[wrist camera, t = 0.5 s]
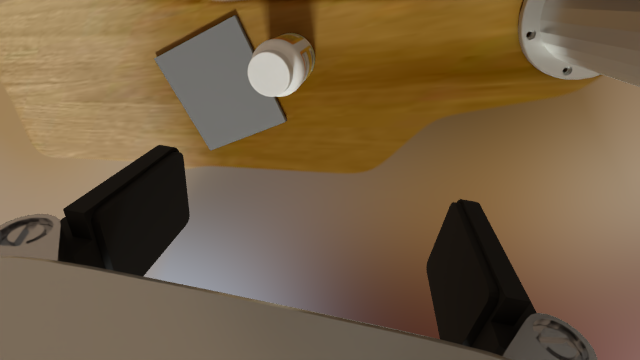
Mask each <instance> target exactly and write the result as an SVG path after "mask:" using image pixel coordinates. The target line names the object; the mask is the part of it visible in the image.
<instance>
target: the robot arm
mask: <svg viewBox="0 0 640 360" xmlns="http://www.w3.org/2000/svg"><path fill="white" fill-rule="evenodd" d="M528 32H530V35H529V36H528V37H526V34H527V33H528ZM518 33H519V42H520V45H521V48H522V51H523V53H524V55H525V56H526V58H527V59H528V61H529V62H530V63H531V64H532V65H533V66H534V67H535V68H537V69H538V70H540V71H542V72H544V73H545V74H548V75H551V76H553V77H557V78H561V79H584V78H590V77H594V76H598V75H601V74H602V75H605V76H609V77H612V78H615V79H618V80H621V81H624V82H627V83H630V84H633V85H636V86H639V87H640V0H524V2H523V5H522V8H521V12H520V15H519V24H518ZM564 68H565V70H564V71H563V69H564ZM562 71H563V72H562ZM64 213H65V216H66V217H64V218H63V219H62V220H59V219H58V218H57V217H55V216H52V215H48V214H35V215H28V216H24V217H20V218H17V219H14V220H11V221H8V222H6V223H4V224H2V225H1V226H0V360H597V357H596V354H595V352H594V349H593V348H592V347H591V345H590V344H589V342H588V341H587V340H586V339H585V338H584V337H583V336H582V335H581V334H580V333H579V332H578V331H577V330H576V329H574V328H573V327H572V326H570V325H569V324H568V323H566V322H564V321H562V320H560V319H558V318H556V317H553V316H551V315H548V314H541V313H536V311H535V309H534V307H533V305H532V303H531V301H530V299H529V297H528V295H527V294H526V292H525V290H524V288H523V286H522V285H521V282H520V280H519V278H518V277H517V275H516V273H515V271H514V269H513V267H512V265H511V263H510V261H509V259H508V257H507V256H506V254H505V252H504V250H503V248H502V246H501V244H500V242H499V240H498V238H497V236H496V234H495V233H494V231H493V229H492V227H491V225H490V223H489V221H488V219H487V217H486V215H485V213H484V212H483V210H482V208H481V206H480V204H479V203H477V202H473V201H467V200H462V199H460V200H458V201H457V203H454V202H453V203H452V204H451V206H450V207H449V210H448V212H447V215H446V217H445V220H444V222H443V225H442V227H441V230H440V232H439V234H438V237H437V239H436V242H435V244H434V247H433V249H432V252H431V254H430V257H429V259H428V262H427V275H428V280H429V285H430V291H431V296H432V301H433V305H434V311H435V316H436V321H437V326H438V331H439V336H440V339H436V338H431V337H427V336H421V335H417V334H413V333H409V332H405V331H400V330H396V329H391V328H386V327H382V326H377V325H372V324H368V323H363V322H358V321H354V320H349V319H344V318H340V317H335V316H330V315H325V314H321V313H317V312H311V311H307V310H302V309H297V308H293V307H288V306H283V305H278V304H274V303H269V302H264V301H259V300H255V299H249V298H245V297H240V296H235V295H231V294H226V293H221V292H216V291H211V290H207V289H202V288H197V287H192V286H187V285H182V284H177V283H172V282H167V281H162V280H158V279H152V278H147V277H143V276H144V275H145V274H146V272H147V271H148V270H149V269H150V267H151V266H152V265H153V264H154V263H155V262H156V260H157V259H158V258H159V257H160V256H161V254H162V253H163V252H164V251H165V250H166V248H167V247H168V246H169V245H170V244H171V242H172V241H173V240H174V239H175V238H176V236H177V235H178V234H179V233H180V232H181V230H182V229H183V228H184V227H185V226H186V224H187V223H188V220H189V206H188V196H187V188H186V177H185V168H184V159H183V155H182V153H179V151H178V149H177V148H174V147H169V146H163V145H158V146H156V147H155V148H153V149H152V150H150V151H149V152H147V153H146V154H144V155H143V156H141V157H140V158H138V159H137V160H135V161H134V162H132V163H131V164H130V165H128V166H127V167H125V168H124V169H122V170H121V171H119V172H118V173H116V174H115V175H113V176H112V177H110V178H109V179H107V180H106V181H104V182H103V183H101V184H100V185H98V186H97V187H95V188H94V189H92V190H91V191H89V192H88V193H86V194H85V195H84V196H82V197H80V198H79V199H78V200H76V201H75V202H73V203H72V204H70V205H69V206H67V207H66V208H64Z"/></svg>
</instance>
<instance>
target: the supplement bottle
mask: <svg viewBox="0 0 640 360" xmlns="http://www.w3.org/2000/svg"><path fill="white" fill-rule="evenodd" d="M314 63H315V55H314V51H313V48H312V46H311V44H310V43H309V42H308V41H307V40H306V39H305V38H304V37H302V36H300V35H298V34H294V33H287V34H283V35H280V36H278V37H275V38H272V39H270V40H267V41H265V42H263V43H262V44H260V45H259V46H258V47H257V48H256V50H255V51H254V53H253V55H252V59H251V61H250V62H249V65H248V78H249V81H250V83H251V85H252V87H253V88H254V89H255V90H256V91H257V92H258V93H260V94H262V95H264V96H268V97H275V96H277V97H282V96H287V95H289V94H291V93H293V92H294V91H295V90H297V89H298V88H299V86H300V85H301V84H302V83H303V82H304V81H305V79H306V78H307V77H308V76H309V75H310V74H311V72H312V70H313V67H314Z"/></svg>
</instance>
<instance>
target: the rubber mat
mask: <svg viewBox="0 0 640 360" xmlns="http://www.w3.org/2000/svg"><path fill="white" fill-rule="evenodd" d="M253 53H254V51H253V48H252V46H251V44H250V42H249V40H248V38H247V36H246V34H245V32H244V30H243V28H242V26H241V23H240V21H239V19H238V17H237V15H234V16H233V17H231V18H229V19H227V20H225V21H223V22H221V23H220V24H218V25H216V26H214V27H212V28H210V29H208V30H207V31H205V32H203V33H201V34H199V35H197V36H195V37H194V38H192V39H190V40H188V41H186V42H184V43H182V44H180V45H179V46H177V47H175V48H173V49H171V50H169V51H167V52H166V53H164V54H162V55H160V56H158V57H156V58H154V59H155V61H156V63H157V64H158V66H159V67H160V69H161V71H162V72H163V74H164V76H165V77H166V79H167V80H168V82H169V84H170V85H171V87H172V89H173V90H174V92H175V94H176V95H177V97H178V98H179V100H180V102H181V103H182V105H183V107H184V108H185V110H186V111H187V113H188V115H189V116H190V118H191V120H192V121H193V123H194V124H195V126H196V128H197V129H198V131H199V133H200V134H201V136H202V137H203V139H204V141H205V142H206V144H207V146H208V147H209V149H210V150H213V149H216V148H218V147H221V146H224V145H226V144H229V143H231V142H234V141H237V140H239V139H242V138H245V137H247V136H250V135H252V134H255V133H258V132H260V131H263V130H265V129H268V128H271V127H273V126H276V125H279V124H281V123H284V122H286V121H287V119H286V117H285V115H284V113H283V111H282V109H281V107H280V105H279V103H278V100H277V98H276V96H275V97H268V96H264V95H262V94H260V93H258V92H257V91H256V90H255V89H254V88H253V87H252V85H251V83H250V81H249V78H248V65H249V62H250V61H251V59H252V55H253Z"/></svg>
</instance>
